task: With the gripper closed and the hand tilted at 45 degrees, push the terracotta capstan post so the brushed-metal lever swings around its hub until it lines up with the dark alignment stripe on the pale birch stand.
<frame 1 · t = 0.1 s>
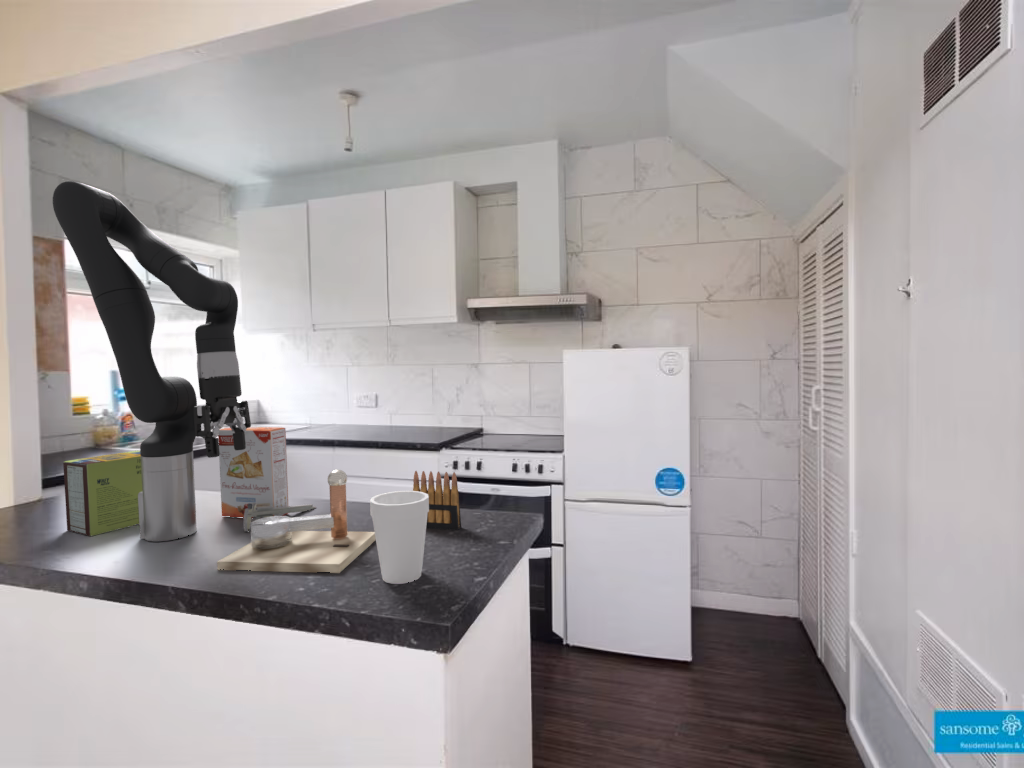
hand: (227, 453, 109), 17 cm above the countertop, tool pointing down, fingers open, 8 cm apart
caliper: (283, 521, 121), on the countertop
foam cup: (402, 577, 87), on the countertop
stand plate: (272, 552, 99), on the countertop
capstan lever: (300, 506, 100), point 8 cm above the countertop, hinge at 22.0°
ammunition clip: (436, 528, 113), on the countertop
cracker box: (255, 517, 124), on the countertop
protein box: (117, 525, 120), on the countertop
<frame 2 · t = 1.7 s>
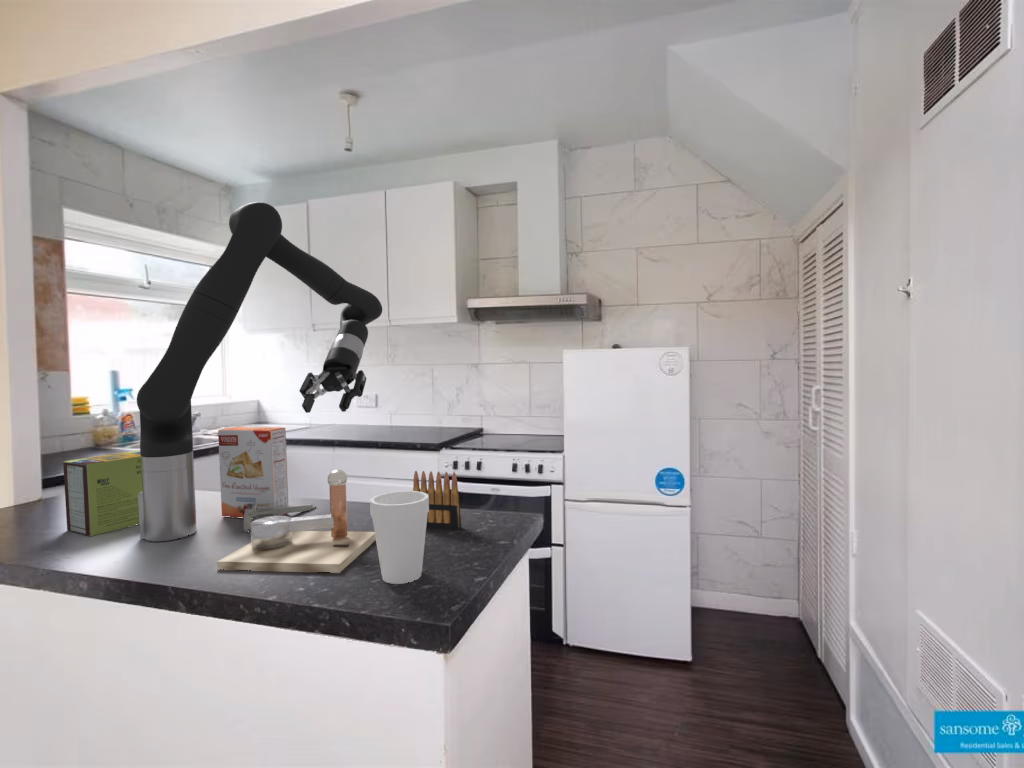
hand: (324, 409, 116), 25 cm above the countertop, tool tilted 45°, fingers open, 8 cm apart
nothing on the countertop moved.
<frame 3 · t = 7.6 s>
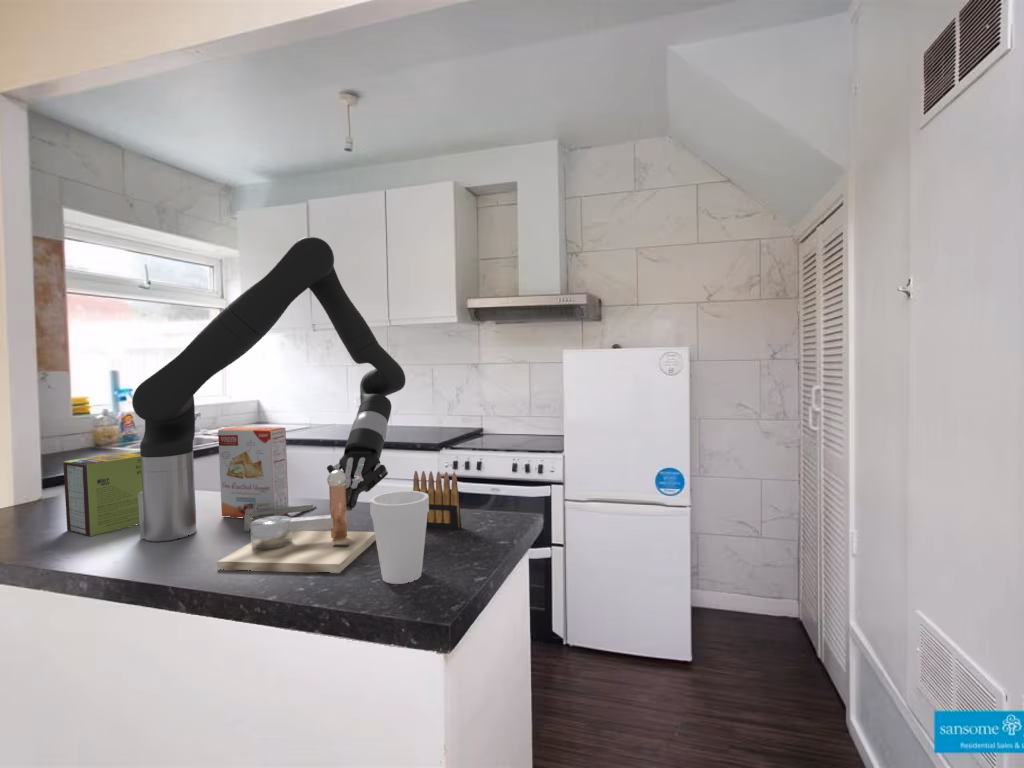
hand: (346, 508, 103), 7 cm above the countertop, tool tilted 45°, fingers closed
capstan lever: (300, 506, 100), point 8 cm above the countertop, hinge at 19.5°, touching gripper
everything else where it was.
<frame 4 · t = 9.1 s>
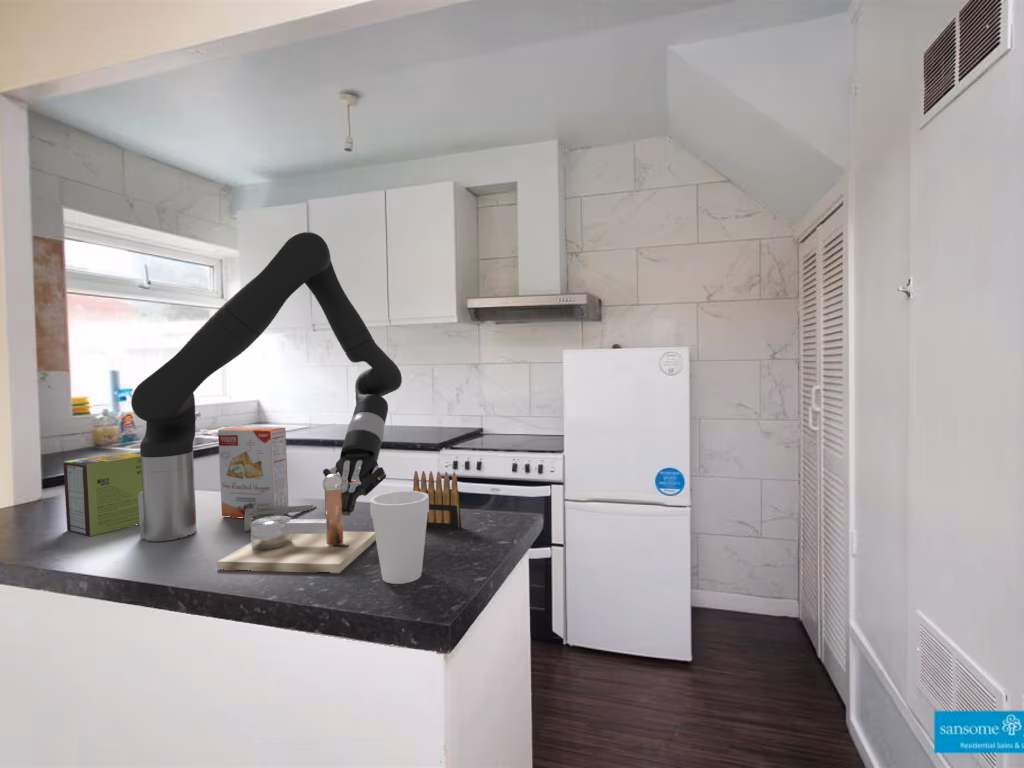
hand: (344, 513, 100), 7 cm above the countertop, tool tilted 45°, fingers closed
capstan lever: (297, 508, 98), point 8 cm above the countertop, hinge at 3.5°, touching gripper
everything else where it was.
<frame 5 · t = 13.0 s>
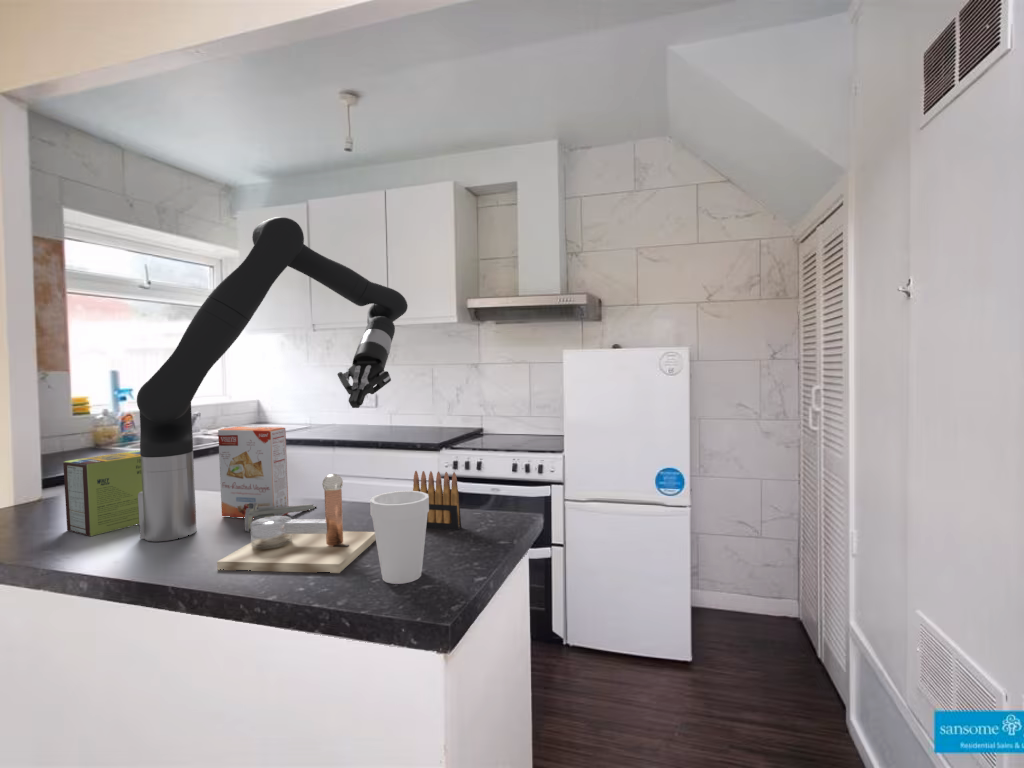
hand: (354, 405, 118), 26 cm above the countertop, tool tilted 45°, fingers closed
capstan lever: (297, 508, 98), point 8 cm above the countertop, hinge at 3.2°
everything else where it was.
at the end: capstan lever at +3° (first picture: +22°); foam cup moved 0.2 cm from its start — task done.
